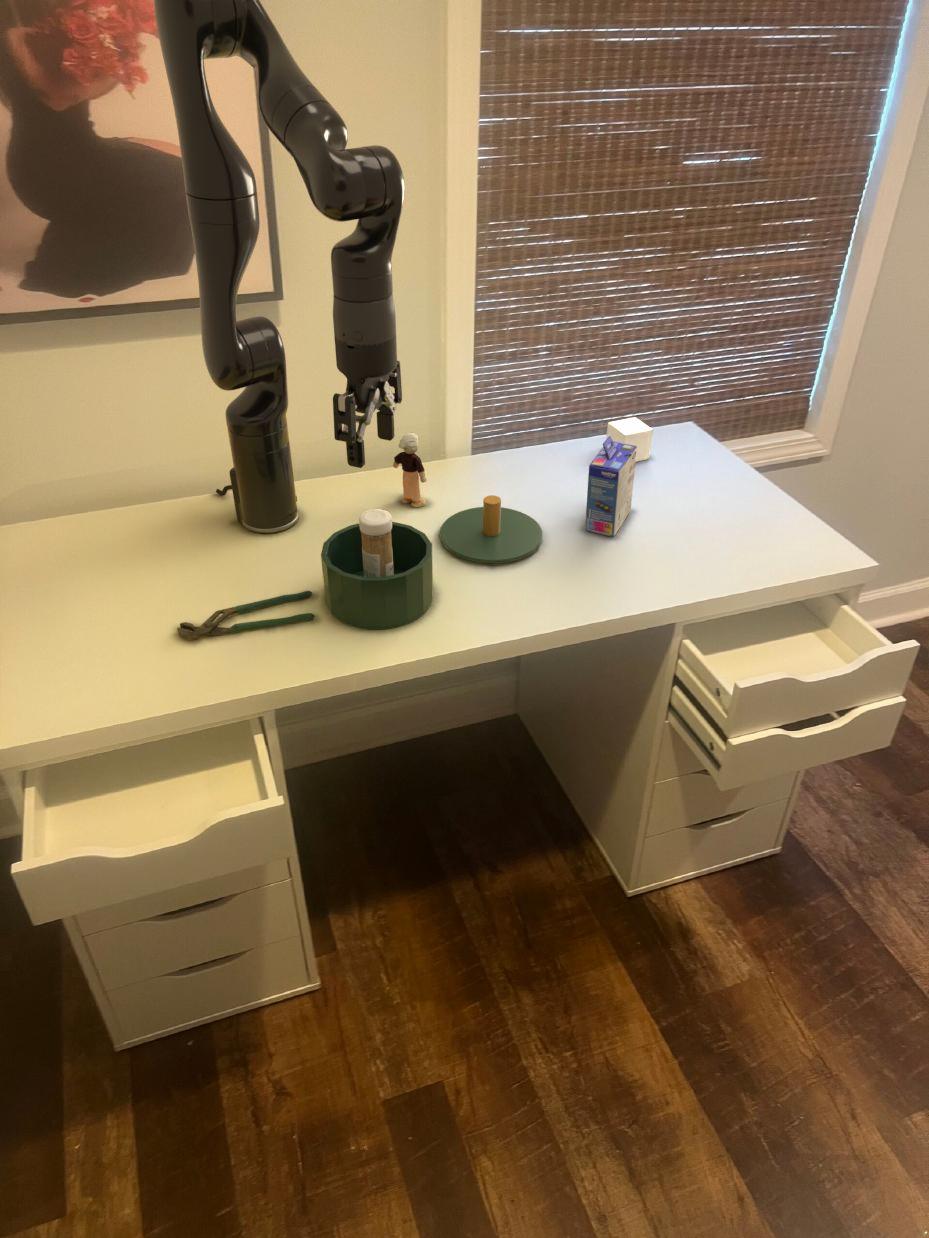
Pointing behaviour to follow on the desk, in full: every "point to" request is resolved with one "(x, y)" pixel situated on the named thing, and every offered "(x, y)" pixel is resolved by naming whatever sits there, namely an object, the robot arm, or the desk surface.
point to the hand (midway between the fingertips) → (371, 452)
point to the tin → (378, 579)
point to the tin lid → (491, 533)
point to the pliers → (212, 628)
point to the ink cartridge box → (610, 487)
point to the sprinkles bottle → (376, 543)
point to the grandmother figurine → (411, 470)
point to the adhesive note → (632, 435)
